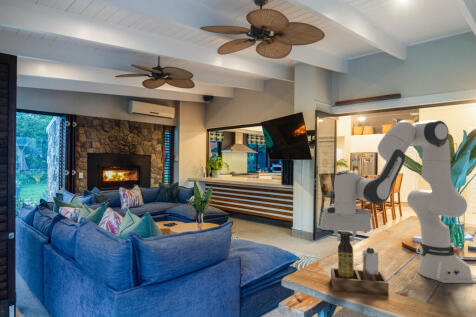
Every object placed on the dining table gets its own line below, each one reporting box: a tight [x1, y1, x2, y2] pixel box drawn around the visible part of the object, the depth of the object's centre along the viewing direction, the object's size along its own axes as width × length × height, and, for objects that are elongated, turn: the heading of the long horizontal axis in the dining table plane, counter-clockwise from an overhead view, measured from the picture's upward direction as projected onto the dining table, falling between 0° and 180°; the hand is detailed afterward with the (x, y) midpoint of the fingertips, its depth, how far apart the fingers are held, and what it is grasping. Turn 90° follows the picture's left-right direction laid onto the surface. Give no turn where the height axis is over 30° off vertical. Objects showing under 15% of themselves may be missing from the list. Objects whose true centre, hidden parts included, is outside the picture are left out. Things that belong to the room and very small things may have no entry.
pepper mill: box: [362, 246, 379, 281], centre depth 124 cm, size 6×6×16 cm
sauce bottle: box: [337, 230, 355, 279], centre depth 127 cm, size 6×6×20 cm
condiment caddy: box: [330, 267, 390, 296], centre depth 125 cm, size 21×12×5 cm, turn 77°
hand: (345, 240), depth 126 cm, fingers closed on sauce bottle, 4 cm apart
